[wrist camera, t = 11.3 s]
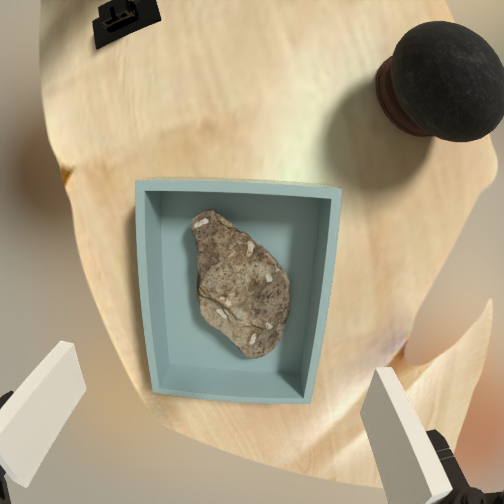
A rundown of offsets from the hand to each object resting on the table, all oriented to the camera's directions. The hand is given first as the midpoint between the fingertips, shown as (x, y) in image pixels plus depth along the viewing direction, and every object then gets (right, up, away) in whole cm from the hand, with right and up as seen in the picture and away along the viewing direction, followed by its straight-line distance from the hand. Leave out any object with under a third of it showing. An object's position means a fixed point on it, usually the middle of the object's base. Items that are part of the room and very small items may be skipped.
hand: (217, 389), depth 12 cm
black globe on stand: (+22, +25, +19) cm, 39 cm away
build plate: (-15, +36, +18) cm, 43 cm away
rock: (0, +2, +25) cm, 26 cm away
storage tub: (0, +1, +26) cm, 26 cm away
